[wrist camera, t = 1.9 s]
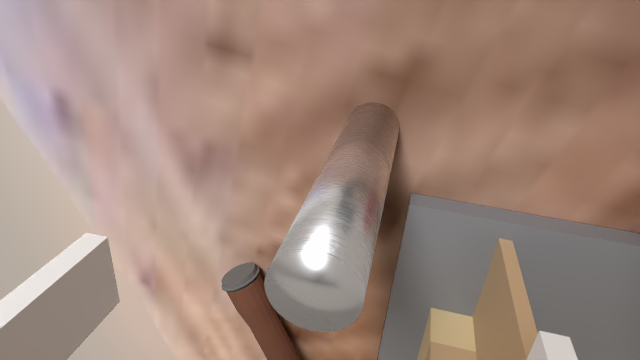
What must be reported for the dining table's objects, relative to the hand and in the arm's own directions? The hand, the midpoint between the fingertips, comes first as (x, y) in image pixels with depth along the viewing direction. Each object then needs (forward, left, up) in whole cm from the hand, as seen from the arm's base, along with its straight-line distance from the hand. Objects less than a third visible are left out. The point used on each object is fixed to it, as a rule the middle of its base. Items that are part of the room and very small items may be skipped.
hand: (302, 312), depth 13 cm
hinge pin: (0, 0, -16) cm, 16 cm away
